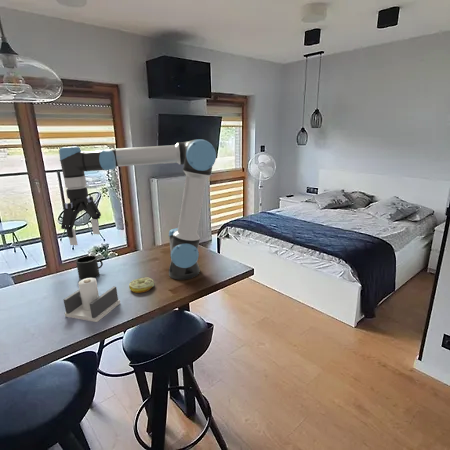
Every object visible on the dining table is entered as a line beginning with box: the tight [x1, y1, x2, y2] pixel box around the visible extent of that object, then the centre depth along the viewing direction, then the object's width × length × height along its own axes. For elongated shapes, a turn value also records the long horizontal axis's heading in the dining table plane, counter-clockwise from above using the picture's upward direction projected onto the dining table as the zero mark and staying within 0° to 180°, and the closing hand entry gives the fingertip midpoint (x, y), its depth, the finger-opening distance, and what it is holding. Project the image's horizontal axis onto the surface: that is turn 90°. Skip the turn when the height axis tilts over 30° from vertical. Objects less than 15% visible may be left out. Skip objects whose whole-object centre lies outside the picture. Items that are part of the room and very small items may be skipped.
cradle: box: [62, 286, 121, 323], centre depth 125 cm, size 15×14×8 cm
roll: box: [78, 277, 100, 311], centre depth 124 cm, size 6×6×11 cm
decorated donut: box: [128, 276, 155, 294], centre depth 142 cm, size 10×11×4 cm
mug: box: [75, 255, 103, 280], centre depth 157 cm, size 9×12×9 cm
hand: (85, 239), depth 129 cm, fingers open, 13 cm apart
